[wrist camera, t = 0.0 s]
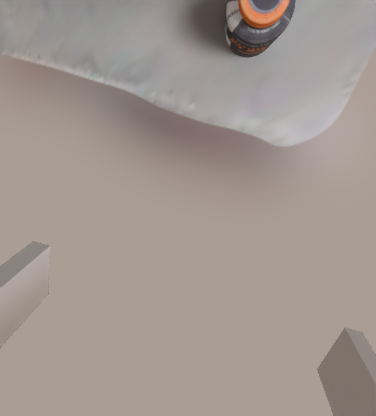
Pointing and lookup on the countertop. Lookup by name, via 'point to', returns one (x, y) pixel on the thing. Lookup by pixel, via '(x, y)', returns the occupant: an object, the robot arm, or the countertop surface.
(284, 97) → the countertop surface
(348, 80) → the countertop surface
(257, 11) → the pill bottle
